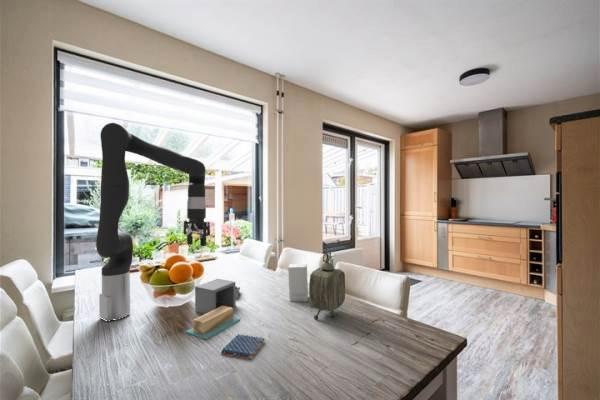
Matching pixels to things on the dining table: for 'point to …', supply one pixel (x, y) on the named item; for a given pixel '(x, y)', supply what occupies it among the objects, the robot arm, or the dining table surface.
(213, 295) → the cubby shelf
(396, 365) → the dining table surface
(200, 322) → the oak plank
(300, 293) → the skincare box
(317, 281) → the tabletop clock
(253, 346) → the woven mat
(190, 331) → the teal mat
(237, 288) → the egg carton
